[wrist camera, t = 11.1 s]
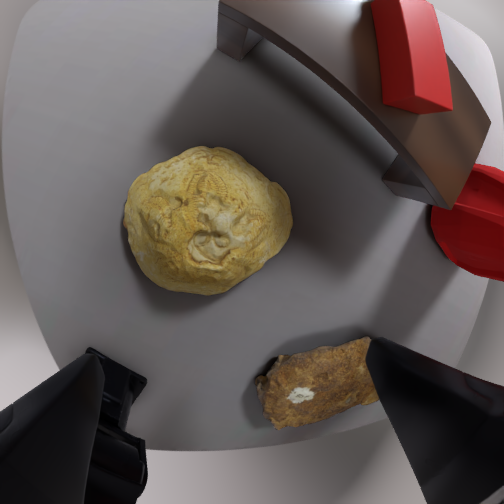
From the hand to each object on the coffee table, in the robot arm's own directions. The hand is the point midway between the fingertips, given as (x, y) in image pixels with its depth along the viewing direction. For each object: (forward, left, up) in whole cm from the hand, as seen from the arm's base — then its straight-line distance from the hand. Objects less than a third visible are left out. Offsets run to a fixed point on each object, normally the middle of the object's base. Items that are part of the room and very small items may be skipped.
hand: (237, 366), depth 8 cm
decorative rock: (-5, -16, -13) cm, 21 cm away
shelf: (+16, 0, -12) cm, 20 cm away
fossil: (+1, +2, -13) cm, 13 cm away
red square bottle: (+16, 0, -6) cm, 17 cm away
